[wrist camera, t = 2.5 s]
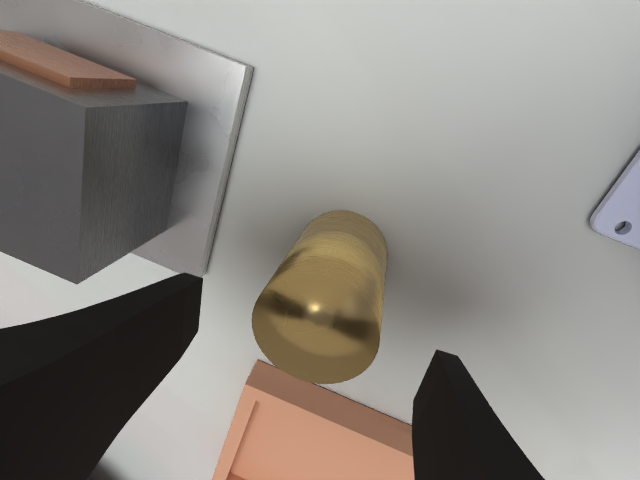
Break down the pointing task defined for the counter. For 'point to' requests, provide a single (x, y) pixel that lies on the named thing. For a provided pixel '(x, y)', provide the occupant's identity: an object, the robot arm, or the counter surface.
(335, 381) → the cylinder
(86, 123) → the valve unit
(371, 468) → the terracotta tray
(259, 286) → the counter surface
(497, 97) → the counter surface
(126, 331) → the robot arm
